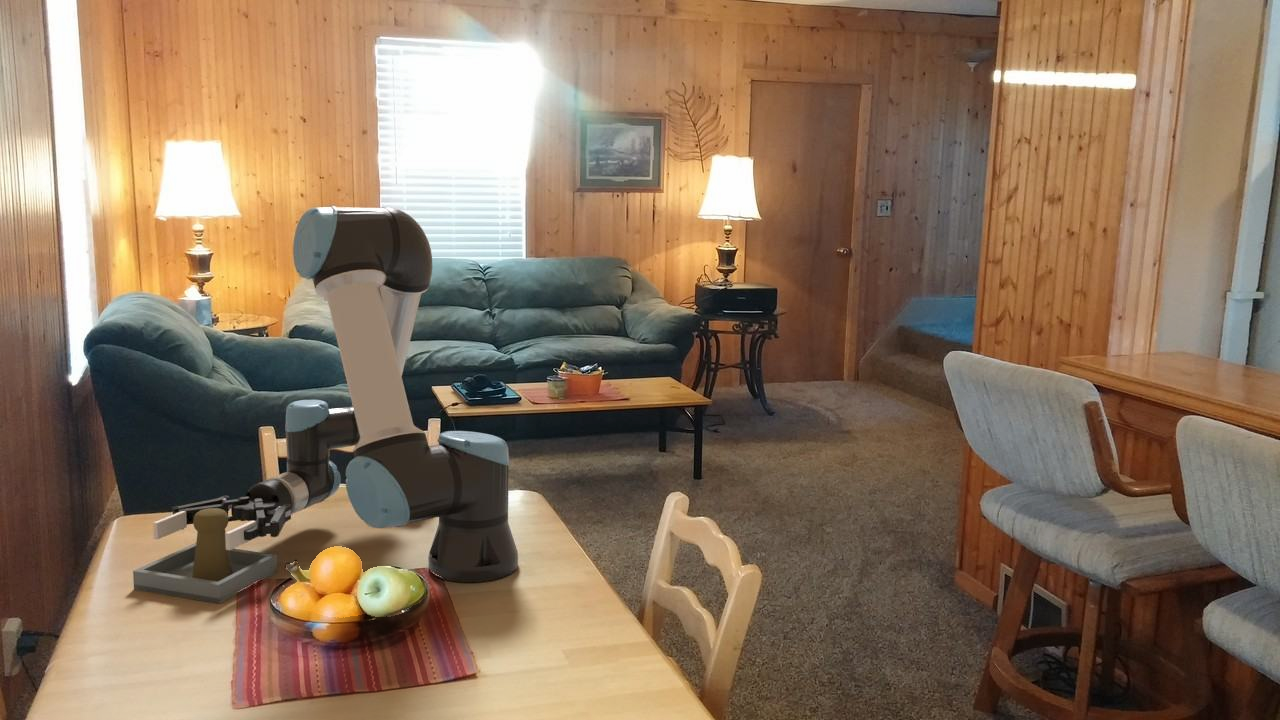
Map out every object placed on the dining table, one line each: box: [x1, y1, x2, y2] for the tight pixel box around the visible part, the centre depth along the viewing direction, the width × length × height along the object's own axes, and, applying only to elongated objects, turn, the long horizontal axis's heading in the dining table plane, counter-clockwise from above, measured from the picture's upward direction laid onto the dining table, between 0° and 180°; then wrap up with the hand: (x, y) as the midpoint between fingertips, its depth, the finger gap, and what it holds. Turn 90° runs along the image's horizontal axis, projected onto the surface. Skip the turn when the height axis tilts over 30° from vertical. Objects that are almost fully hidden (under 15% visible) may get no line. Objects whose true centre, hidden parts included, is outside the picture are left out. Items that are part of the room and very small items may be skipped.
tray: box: [132, 542, 278, 604], centre depth 163 cm, size 16×14×3 cm
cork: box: [192, 508, 232, 582], centre depth 163 cm, size 6×6×11 cm
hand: (190, 536), depth 159 cm, fingers open, 13 cm apart
